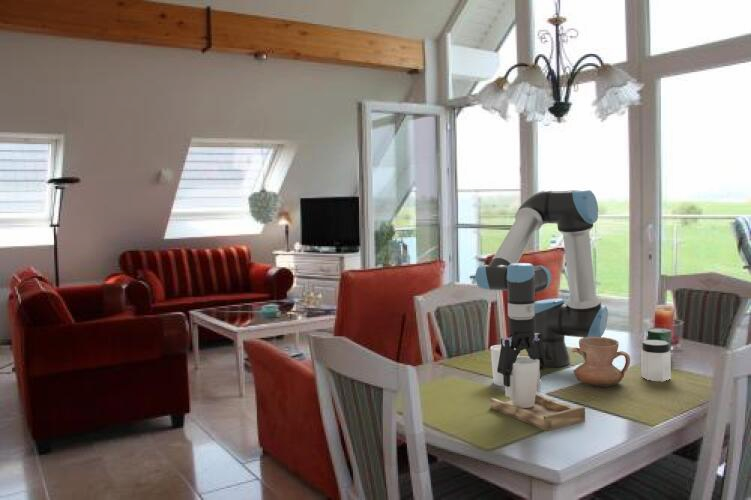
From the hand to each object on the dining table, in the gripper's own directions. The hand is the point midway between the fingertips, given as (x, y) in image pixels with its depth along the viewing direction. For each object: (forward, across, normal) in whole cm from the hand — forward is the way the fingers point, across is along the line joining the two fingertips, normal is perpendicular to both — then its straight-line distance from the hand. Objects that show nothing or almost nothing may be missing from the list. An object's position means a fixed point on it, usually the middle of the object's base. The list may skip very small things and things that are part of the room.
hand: (523, 393), depth 187 cm
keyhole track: (+5, 0, -5) cm, 7 cm away
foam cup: (+3, 0, 0) cm, 3 cm away
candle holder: (+5, +13, +23) cm, 27 cm away
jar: (+5, +56, -1) cm, 56 cm away
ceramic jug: (+5, +37, +5) cm, 38 cm away
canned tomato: (+5, +77, +14) cm, 78 cm away
